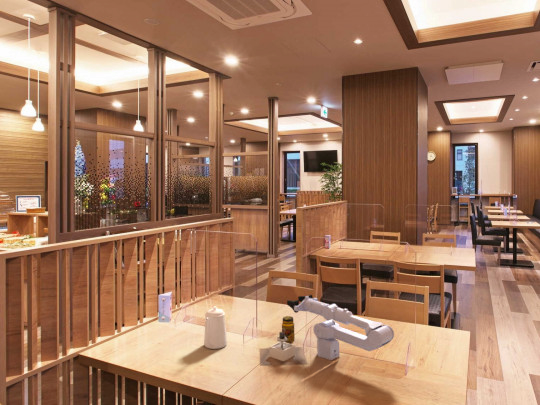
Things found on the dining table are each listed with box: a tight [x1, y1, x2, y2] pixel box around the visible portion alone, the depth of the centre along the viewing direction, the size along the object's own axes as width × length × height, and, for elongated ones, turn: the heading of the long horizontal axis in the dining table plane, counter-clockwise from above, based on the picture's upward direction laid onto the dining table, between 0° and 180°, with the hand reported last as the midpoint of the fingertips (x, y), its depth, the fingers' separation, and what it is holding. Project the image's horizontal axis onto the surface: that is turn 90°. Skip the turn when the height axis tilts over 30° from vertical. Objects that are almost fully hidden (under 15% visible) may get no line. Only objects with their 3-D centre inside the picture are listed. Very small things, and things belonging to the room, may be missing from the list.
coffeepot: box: [203, 305, 228, 350], centre depth 197 cm, size 11×25×19 cm, turn 168°
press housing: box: [268, 341, 296, 361], centre depth 182 cm, size 8×8×4 cm
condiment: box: [281, 315, 296, 344], centre depth 201 cm, size 7×8×12 cm
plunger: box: [273, 331, 291, 350], centre depth 182 cm, size 6×6×7 cm
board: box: [259, 346, 308, 367], centre depth 183 cm, size 20×18×1 cm
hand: (293, 300), depth 197 cm, fingers open, 7 cm apart
